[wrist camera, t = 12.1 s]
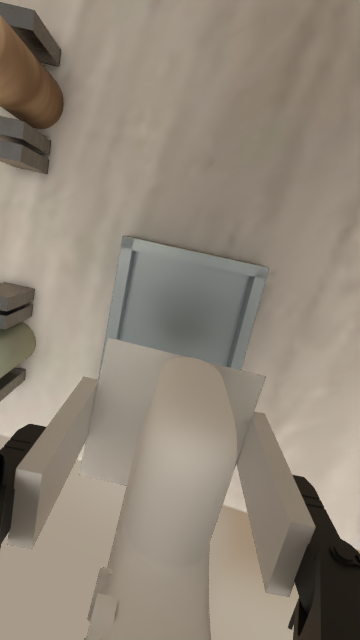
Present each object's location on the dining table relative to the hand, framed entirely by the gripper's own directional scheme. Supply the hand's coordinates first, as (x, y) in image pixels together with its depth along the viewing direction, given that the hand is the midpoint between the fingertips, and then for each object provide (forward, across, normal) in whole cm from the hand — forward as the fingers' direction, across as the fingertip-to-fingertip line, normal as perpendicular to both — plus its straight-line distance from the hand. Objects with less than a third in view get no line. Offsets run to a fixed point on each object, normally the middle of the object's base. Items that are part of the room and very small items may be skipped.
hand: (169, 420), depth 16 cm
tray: (+18, 0, 0) cm, 18 cm away
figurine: (+3, 0, 0) cm, 3 cm away
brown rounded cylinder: (+18, -16, +17) cm, 29 cm away
